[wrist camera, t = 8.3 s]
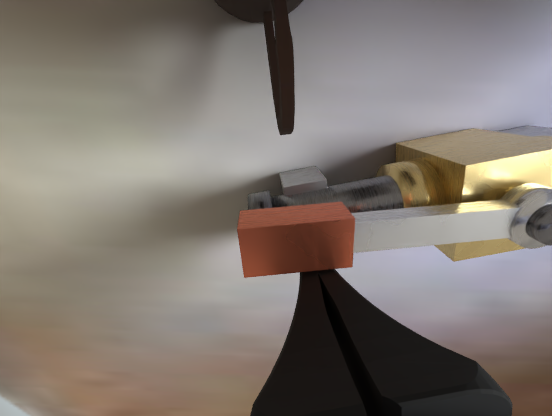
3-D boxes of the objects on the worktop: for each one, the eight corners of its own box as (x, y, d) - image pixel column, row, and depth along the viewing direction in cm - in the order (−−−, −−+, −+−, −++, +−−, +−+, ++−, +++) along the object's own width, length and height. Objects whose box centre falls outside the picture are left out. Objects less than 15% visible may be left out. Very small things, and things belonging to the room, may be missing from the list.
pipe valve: (561, 111, 16) (717, 118, 11) (542, 184, 18) (665, 222, 13) (247, 171, 16) (242, 208, 11) (262, 237, 18) (264, 296, 13)
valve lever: (550, 178, 11) (606, 193, 9) (531, 230, 12) (578, 252, 11) (239, 206, 11) (235, 227, 9) (246, 257, 12) (244, 285, 10)
